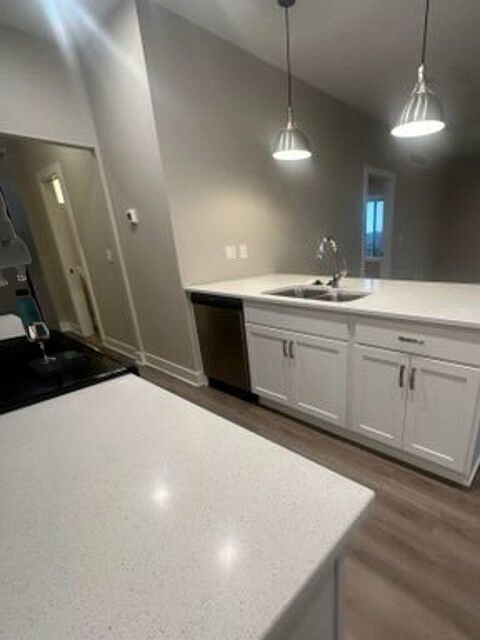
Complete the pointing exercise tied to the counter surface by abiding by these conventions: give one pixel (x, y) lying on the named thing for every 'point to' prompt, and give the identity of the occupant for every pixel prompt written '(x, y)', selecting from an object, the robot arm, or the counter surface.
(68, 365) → the scale
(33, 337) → the wineglass
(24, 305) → the beverage bottle
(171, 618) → the counter surface
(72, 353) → the tare button
